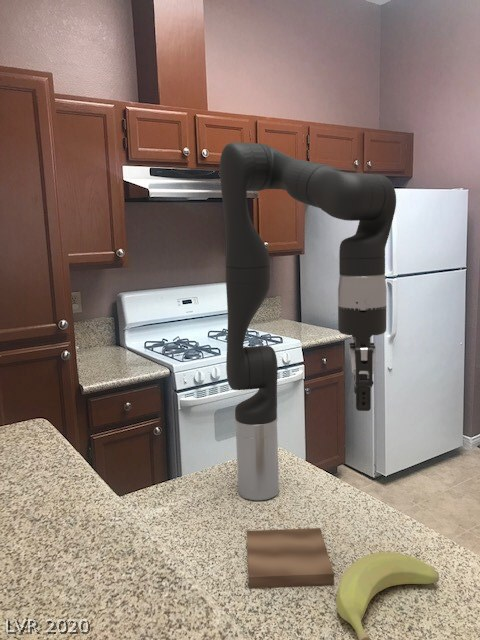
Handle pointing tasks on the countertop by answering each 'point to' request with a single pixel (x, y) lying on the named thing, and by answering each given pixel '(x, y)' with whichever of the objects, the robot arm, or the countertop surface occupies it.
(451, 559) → the countertop surface
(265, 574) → the walnut board
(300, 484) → the countertop surface
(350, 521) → the countertop surface
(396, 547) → the countertop surface
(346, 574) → the banana
